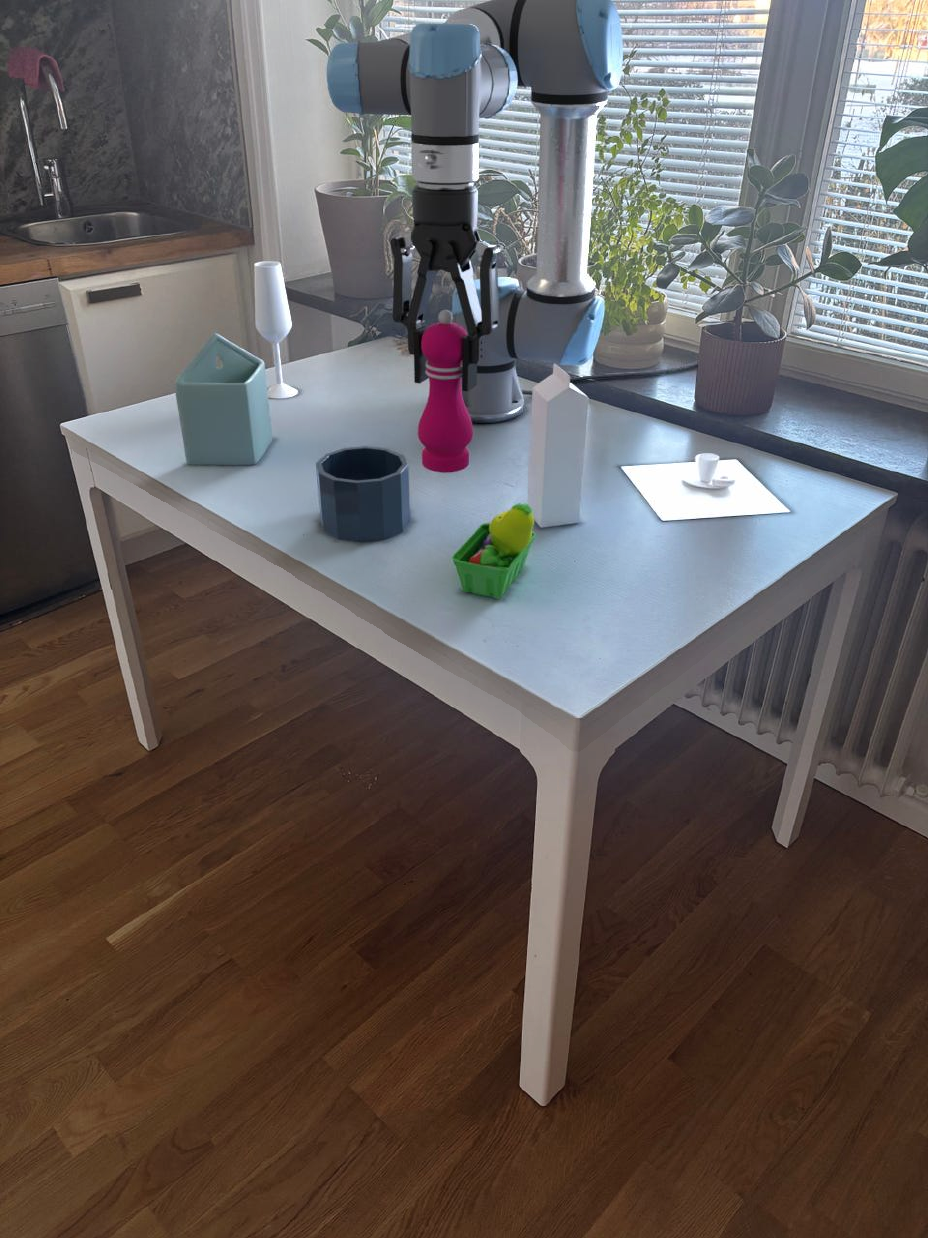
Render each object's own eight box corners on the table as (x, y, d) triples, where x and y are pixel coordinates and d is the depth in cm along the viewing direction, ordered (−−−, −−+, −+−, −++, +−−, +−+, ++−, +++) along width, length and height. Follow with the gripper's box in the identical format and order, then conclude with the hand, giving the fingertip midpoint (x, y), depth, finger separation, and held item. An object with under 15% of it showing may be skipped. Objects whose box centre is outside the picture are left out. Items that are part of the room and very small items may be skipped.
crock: (399, 498, 142) (397, 442, 138) (416, 536, 132) (415, 477, 127) (316, 507, 140) (311, 450, 135) (327, 546, 129) (322, 486, 125)
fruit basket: (482, 554, 128) (484, 478, 122) (544, 567, 125) (548, 489, 119) (449, 594, 119) (449, 513, 113) (514, 608, 116) (518, 527, 110)
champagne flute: (303, 388, 185) (291, 260, 172) (290, 399, 179) (277, 268, 166) (271, 385, 186) (257, 258, 173) (257, 396, 180) (242, 266, 167)
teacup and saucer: (741, 491, 145) (746, 467, 143) (693, 494, 144) (696, 470, 142) (719, 469, 153) (723, 445, 150) (673, 471, 151) (676, 448, 149)
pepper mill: (479, 457, 126) (482, 305, 115) (462, 477, 120) (463, 320, 110) (429, 450, 128) (428, 300, 117) (410, 470, 122) (406, 314, 112)
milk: (540, 528, 135) (548, 378, 123) (526, 510, 139) (532, 364, 127) (579, 523, 136) (591, 374, 124) (564, 505, 141) (573, 360, 129)
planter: (210, 478, 148) (192, 354, 138) (186, 463, 153) (166, 342, 142) (297, 451, 158) (286, 333, 147) (271, 438, 162) (258, 323, 152)
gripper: (355, 182, 107) (365, 381, 119) (508, 194, 100) (502, 404, 112) (388, 174, 112) (394, 365, 125) (535, 185, 105) (526, 386, 118)
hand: (445, 383), depth 118 cm, fingers closed on pepper mill, 6 cm apart
